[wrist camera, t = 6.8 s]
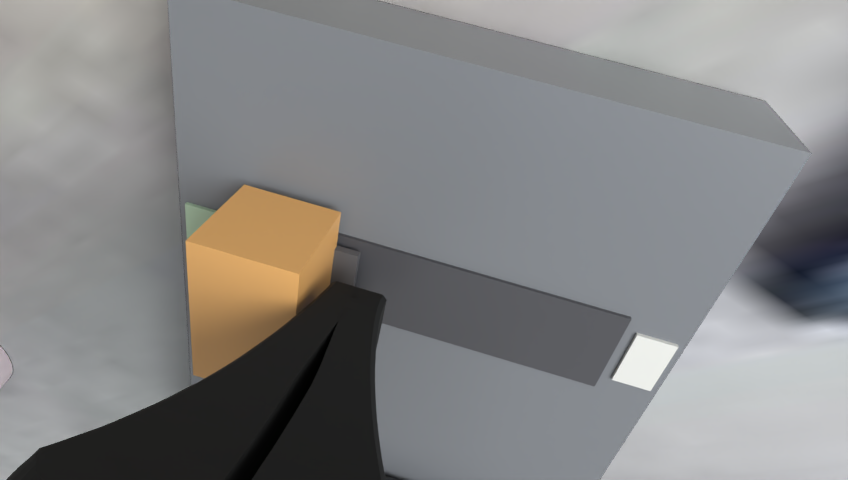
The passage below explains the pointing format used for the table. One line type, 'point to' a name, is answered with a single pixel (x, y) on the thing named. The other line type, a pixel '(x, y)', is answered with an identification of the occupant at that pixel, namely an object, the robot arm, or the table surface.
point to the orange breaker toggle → (258, 271)
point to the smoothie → (5, 367)
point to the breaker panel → (485, 212)
